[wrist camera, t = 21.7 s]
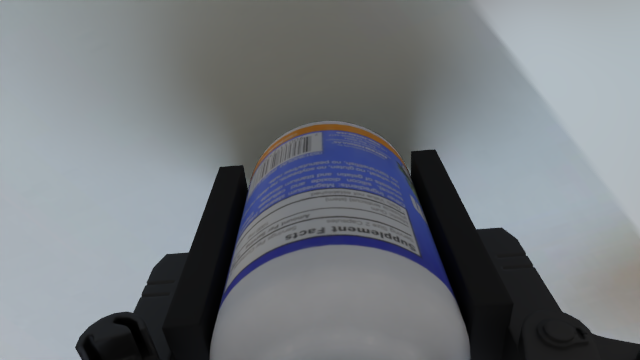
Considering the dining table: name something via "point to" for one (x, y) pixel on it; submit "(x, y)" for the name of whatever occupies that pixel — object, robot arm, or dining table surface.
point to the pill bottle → (336, 258)
